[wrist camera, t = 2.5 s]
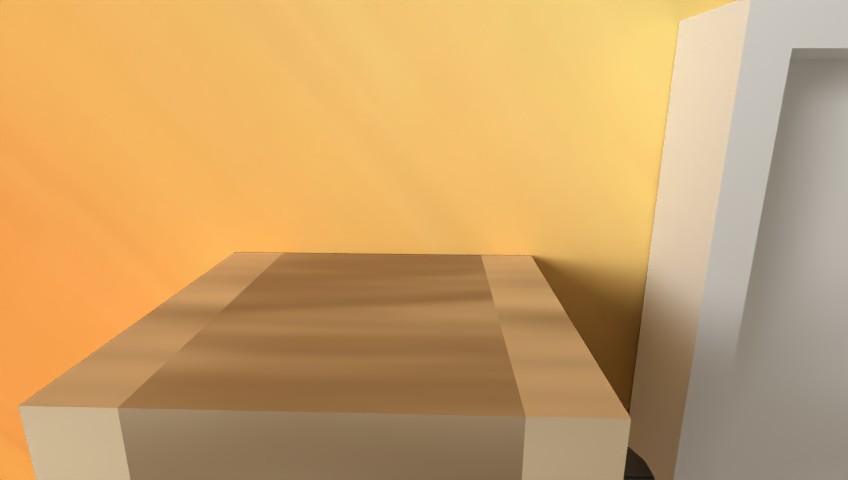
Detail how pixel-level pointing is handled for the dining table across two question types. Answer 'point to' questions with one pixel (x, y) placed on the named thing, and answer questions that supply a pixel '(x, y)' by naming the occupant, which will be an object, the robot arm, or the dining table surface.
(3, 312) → the dining table surface
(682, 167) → the tray
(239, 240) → the dining table surface
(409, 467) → the wooden box
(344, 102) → the dining table surface
